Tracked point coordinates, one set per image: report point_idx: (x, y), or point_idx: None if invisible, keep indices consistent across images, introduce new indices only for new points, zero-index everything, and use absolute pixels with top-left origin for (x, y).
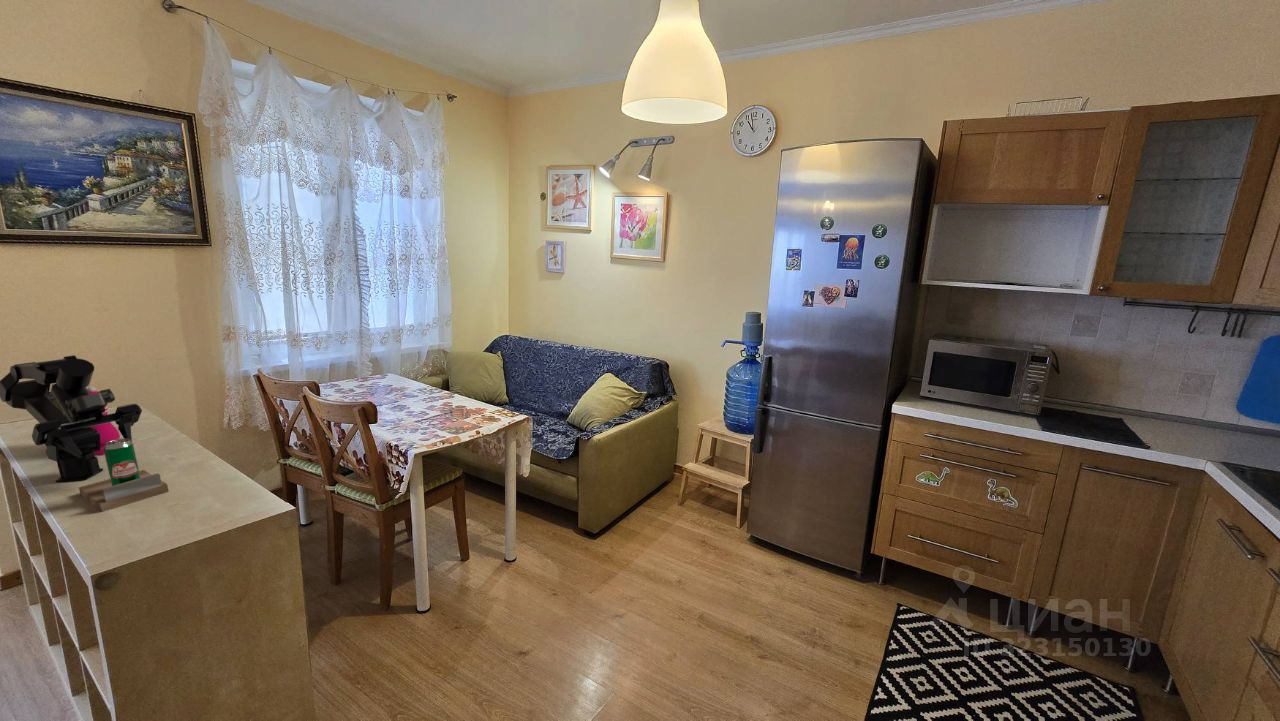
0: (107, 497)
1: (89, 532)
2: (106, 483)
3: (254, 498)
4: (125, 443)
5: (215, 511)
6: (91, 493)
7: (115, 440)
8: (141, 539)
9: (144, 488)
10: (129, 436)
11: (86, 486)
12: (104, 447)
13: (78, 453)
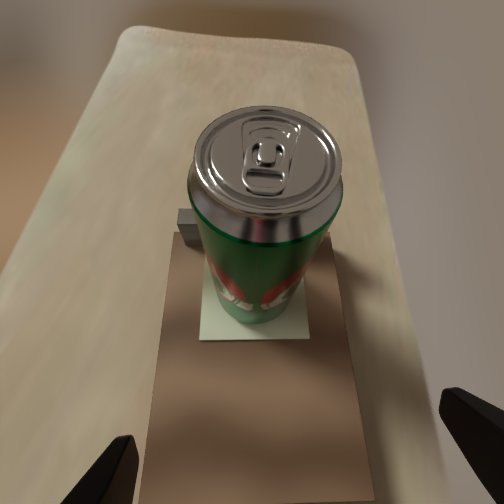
0: None
1: (351, 160)
2: (288, 436)
3: (119, 80)
4: (238, 119)
5: (184, 84)
6: (340, 353)
7: (268, 198)
8: (293, 81)
9: None
10: (80, 498)
11: (350, 476)
12: (339, 181)
13: (476, 400)
